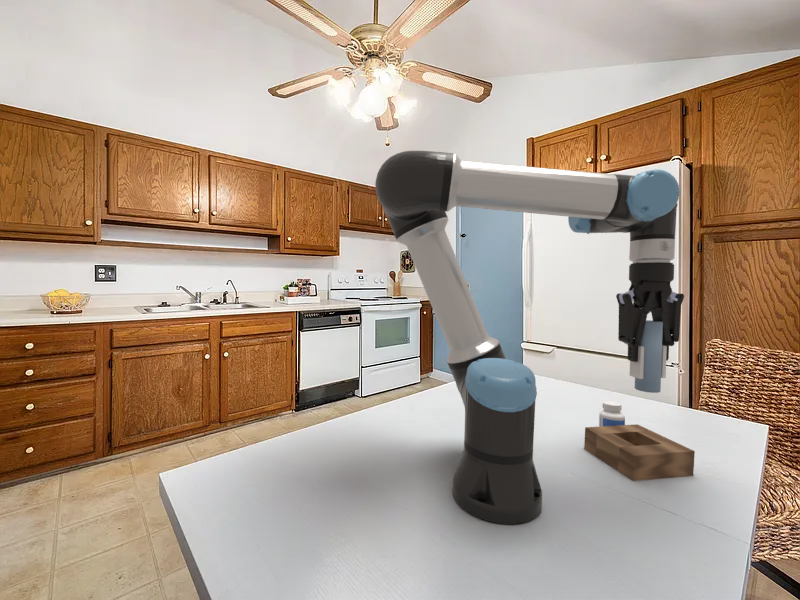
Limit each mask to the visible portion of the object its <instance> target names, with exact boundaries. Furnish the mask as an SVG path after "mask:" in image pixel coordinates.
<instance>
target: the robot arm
mask: <svg viewBox="0 0 800 600" xmlns="http://www.w3.org/2000/svg"><path fill="white" fill-rule="evenodd" d="M374 184H375V194H376V197H377V199H378V202H379V203H380V205H381V206H382V209H383V212H384V214H385V217H386V218H387V220H388V222H389V226H390V227H391V230H392V233H393V235H394V238H395V240H396V242H397V243H399V244H402V245H404V246H406V247H407V250H408V252H409V254H410V258H411V259H412V262H413V265H414V267H415V269H416V271H417V273H418V277H419V279H420V281H421V284H422V286H423V289H424V291H425V294H426V295H427V298H428V301H429V303H430V304H431V305H430V306H431V308H432V310H433V312H434V315H435V317H436V320H437V322H438V325H439V327H440V329H441V332H442V334H443V337H444V339H445V341H446V344H447V347H448V349H449V353H448V355H447V358H446V362H447V365H448V368H449V370H450V372H451V374H452V377H453V379H454V382H455V384H456V388H457V390H458V391H457V392H458V393H459V394H460V398H461V400H462V402H463V403H462V404H463V406H464V434H463V436H464V437H463V438H464V439H463V440H464V441H463V443H464V444H463V452H462V454H461V456H460V459H459V462H458V465H457V467H456V470H455V472H454V475H453V480H452V495H453V498H454V500H455V502H456V503H457V504H458V506H459V507H461V508H462V509H463V510H464V511H466V512H467V513H469V514H471V515H472V516H474V517H477V518H479V519H482V520H484V521H487V522H492V523H496V524H505V525H513V524H515V525H516V524H523V523H526V522H529V521H532V520H534V519H535V518H537V517H538V515H540V514H541V511H542V509H543V492H542V491H543V490H542V487H541V484H540V480H539V475H538V474H537V470H536V466H535V462H534V439H535V438H534V436H535V435H534V434H535V417H536V413H535V412H536V399H537V396H538V392H537V385H536V384H537V383H536V376H535V374H534V372H533V371H532V370H531V368H530V367H528V366H527V365H525V364H523V363H521V362H516V361H515V360H511V359H507V358H506V356H505V352H504V351H503V348H502V346H501V344H500V340H499V339H497V338H494V337H491V336H490V335H489V333H488V331H487V330H486V329H487V328H486V327H485V324H484V321H483V320H482V316H481V315H480V312H479V310H478V307H477V304H476V302H475V300H474V297H473V295H472V293H471V291H470V287H469V286H468V283H467V280H466V278H465V276H464V274H463V271H462V268H461V265H460V264H459V261H458V259H457V257H456V253H455V252H454V249H453V247H452V243H451V242H450V239H449V236H448V234H447V232H446V227H447V224H448V221H449V217H448V215H447V213H448V212H449V211H452V209H453V208H455V207H459V208H461V207H462V208H470V209H471V208H472V209H482V210H492V211H503V212H504V211H505V212H513V213H514V212H515V213H526V214H538V215H549V216H556V217H557V216H559V217H560V216H561V217H568V218H567V219H568V225H569V228H570V230H571V231H572V232H574V233H577V234H580V233H581V234H587V235H590V234H600V233H601V234H605V233H606V234H607V233H609V234H611V233H613V234H614V233H617V234H618V233H623V234H624V233H627V234H628V233H629V254H628V257H629V258H628V260H629V261H630V262H632V263H630V265H628V280H629V281H630V286H629V288H628V291H626V292H622V293H619V292H618V293H616V296H615V297H616V300H617V303H618V333H617V335H618V337H617V338H618V342H619V341H620V342H622V343H624V344H625V345H627V360H628V362H629V377H632V378H634V379H635V378H638V379H643V370H644V346H640V344H641V340H642V336H643V331H644V327H645V323H646V320H647V318H648V315H649V314H651V318H652V319H651V320H652V321H660V322H663V334H662V363H661V379H666V378H667V361H668V360H669V357H670V354H669V352H670V347H673V346H674V345H675V344H676V343H677V342H679V341H680V334H681V333H680V331H681V314H682V313H681V311H682V305H683V301H684V298H685V295H684V293H680V292H679V293H677V292H674V291H673V289H672V286H671V282H672V281H674V279H675V264H674V263H673V262H671V261H672V260H674V259H675V253H676V227H677V210H678V209H677V208H678V204H679V203H678V201H679V198H680V185H679V183H678V180H677V178H676V177H675V176H674V175H672V174H671V173H670V172H669V171H666V170H663V169H658V168H657V169H656V168H655V169H649V170H647V171H646V170H645V171H642V172H638V173H637V174H635V175H631V174H616V173H604V172H603V173H601V172H592V171H591V172H589V171H581V170H579V171H578V170H572V169H571V170H569V169H558V168H548V167H539V166H537V167H536V166H526V165H525V166H524V165H514V164H503V163H502V164H501V163H493V162H484V161H483V162H480V161H469V160H463V159H462V160H461V159H460V157H459V155H457V154H456V153H455V152H446V151H445V152H444V151H431V150H404V151H401V152H397V153H394V154H393V155H392V156H389V157H388V158H387V159H386V160H385V161H384V162H383V163H382V165H381V166H380V168H379V169H378V172H377V173H376V177H375V183H374ZM668 362H669V361H668Z"/></svg>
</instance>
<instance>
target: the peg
mask: <svg viewBox="0 0 800 600" xmlns="http://www.w3.org/2000/svg"><path fill="white" fill-rule="evenodd" d="M662 334H663V322H660V321H653V320H652V319H651V320H648V319H646V323H645V327H644V331H643V336H642V340H641V344H640V346H644V370H643V379H638V378H635V377H634V389H635V390H637V391H638V392H639V391H640V392H644V393H652V394H657V393H661V387H662V378H661V363H662Z"/></svg>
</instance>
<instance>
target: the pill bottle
mask: <svg viewBox="0 0 800 600" xmlns="http://www.w3.org/2000/svg"><path fill="white" fill-rule="evenodd" d="M601 407H602V410H600V411H599V413H598V414H599V417H598V419H599V420H598V424H599V425H598V427H600V426H618V425H626V416H625V414H624V413H622V412H621V411H622V409H623V408H622V403H619V402H618V401H617V402H616V401H613V400H612V401H611V400H610V401H609V400H604V401H602V406H601Z"/></svg>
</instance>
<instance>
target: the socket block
mask: <svg viewBox="0 0 800 600" xmlns="http://www.w3.org/2000/svg"><path fill="white" fill-rule="evenodd" d="M583 446H584V447H583V448H584V450H585V451H587V452H589V453H590V454H591V455H593V456H595V457H596V458H597V459H599V460H601V461H602V462H604V463H605V464H606V465H608V466H610V467H611V468H612V469H614V470H616V471H617V472H619V473H620V474H622V475H624V476H625V477H626V478H628V479H630V480H631V482H632V481H633V482H636V481H647V480H648V481H649V480H656V479H657V480H659V479H669V478H680V477H691V476H694V469H695V468H694V467H695V453H696V452H695V450H693V449H691V448H689V447H687V446H684V445H683V444H680V443H678V442H676V441H674V440H672V439H669V438H667V437H666V436H663V435H661V434H659V433H657V432H654V431H652V430H650V429H648V428H646V427H644V426H641V424H640V425H639V424H625V425H618V426H600V427H599V426H590V427H589V426H586V427H584V445H583Z"/></svg>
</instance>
